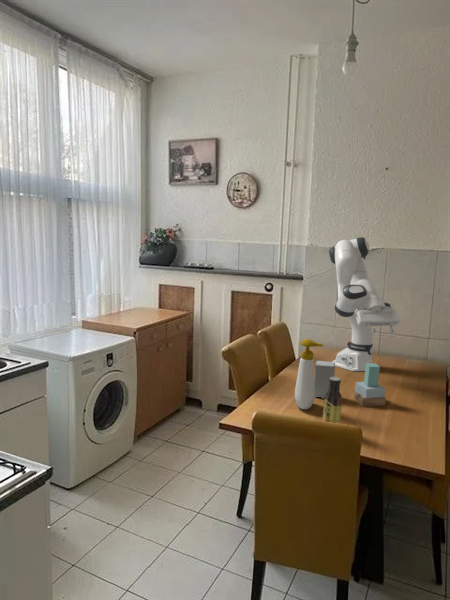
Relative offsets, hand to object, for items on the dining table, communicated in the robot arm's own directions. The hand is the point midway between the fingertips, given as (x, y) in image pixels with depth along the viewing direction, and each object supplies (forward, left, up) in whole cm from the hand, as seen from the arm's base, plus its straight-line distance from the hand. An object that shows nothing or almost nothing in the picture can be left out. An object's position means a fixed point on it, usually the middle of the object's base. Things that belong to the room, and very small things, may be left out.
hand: (383, 332), depth 201 cm
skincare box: (-16, -24, -29) cm, 41 cm away
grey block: (+2, -16, -25) cm, 30 cm away
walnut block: (+1, -16, -29) cm, 33 cm away
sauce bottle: (+1, -53, -29) cm, 61 cm away
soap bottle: (-16, -40, -29) cm, 52 cm away
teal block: (+2, -16, -21) cm, 26 cm away
